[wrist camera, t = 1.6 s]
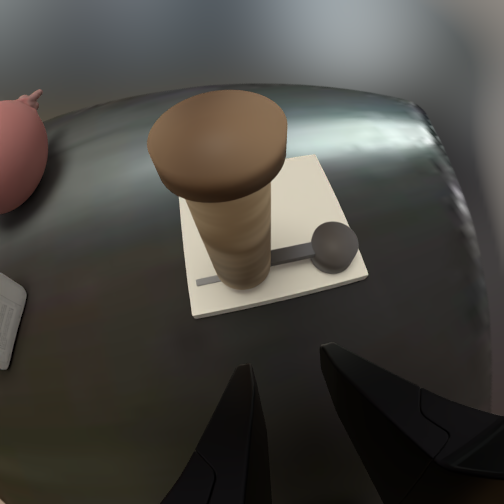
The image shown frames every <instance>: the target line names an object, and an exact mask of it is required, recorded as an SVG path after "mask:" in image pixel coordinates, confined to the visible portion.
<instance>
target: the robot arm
mask: <svg viewBox="0 0 504 504" xmlns="http://www.w3.org/2000/svg"><path fill="white" fill-rule="evenodd" d="M320 361H321V369H322V373H323V375H324V378H325V381H326V384H327V387H328V389H329V392H330V395H331V398H332V401H333V404H334V406H335V409H336V411H337V414H338V416H339V418H340V420H341V422H342V424H343V425H344V427H345V429H346V431H347V433H348V435H349V437H350V439H351V441H352V443H353V445H354V447H355V449H356V451H357V453H358V455H359V456H360V458H361V460H362V462H363V464H364V466H365V468H366V470H367V472H368V474H369V476H370V478H371V480H372V482H373V484H374V486H375V487H376V489H377V491H378V493H379V495H380V497H381V499H382V501H383V503H384V504H504V416H500V415H495V414H492V413H488V412H485V411H481V410H478V409H475V408H472V407H468V406H465V405H462V404H459V403H456V402H454V401H451V400H448V399H446V398H443V397H441V396H439V395H436V394H434V393H432V392H430V391H428V390H426V389H424V388H421V389H420V387H419V386H417V385H415V384H413V383H411V382H409V381H407V380H405V379H403V378H401V377H399V376H397V375H395V374H393V373H391V372H389V371H387V370H385V369H383V368H381V367H379V366H378V365H376V364H374V363H372V362H370V361H368V360H366V359H364V358H362V357H360V356H358V355H357V354H355V353H353V352H351V351H349V350H347V349H345V348H343V347H342V346H340V345H338V344H336V343H334V342H331V343H327V344H324V345H321V346H320ZM195 450H196V451H194V452H193V454H192V456H191V458H190V460H189V462H188V464H187V465H186V467H185V469H184V471H183V472H182V474H181V476H180V477H179V479H178V480H177V481H176V483H175V484H174V486H173V487H172V489H171V490H170V491H169V493H168V494H167V495H166V497H165V498H164V499H163V500H162V502H161V503H160V504H272V499H271V485H270V470H269V456H268V442H267V431H266V425H265V420H264V415H263V411H262V406H261V401H260V397H259V392H258V387H257V383H256V379H255V376H254V372H253V368H252V365H251V364H250V363H246V364H241V365H238V366H237V367H236V369H235V371H234V373H233V375H232V377H231V379H230V381H229V383H228V385H227V387H226V389H225V391H224V393H223V396H222V398H221V400H220V402H219V404H218V406H217V408H216V410H215V412H214V414H213V416H212V418H211V420H210V422H209V424H208V426H207V427H206V429H205V431H204V433H203V435H202V437H201V439H200V441H199V443H198V445H197V447H196V449H195Z"/></svg>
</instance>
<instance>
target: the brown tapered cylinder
mask: <svg viewBox="0 0 504 504" xmlns="http://www.w3.org/2000/svg"><path fill="white" fill-rule="evenodd" d="M286 144H287V119H286V116H285V114H284V112H283V111H282V109H281V108H280V107H279V106H278V105H277V104H276V103H274V102H273V101H272V100H270V99H268V98H266V97H264V96H262V95H259V94H256V93H252V92H248V91H241V90H220V91H212V92H207V93H203V94H199V95H196V96H193V97H191V98H188V99H186V100H184V101H182V102H180V103H178V104H176V105H174V106H173V107H171V108H170V109H169V110H167V111H166V112H165V113H164V114H163V115H161V117H160V118H159V119H158V120H157V121H156V122H155V124H154V125H153V127H152V128H151V130H150V133H149V135H148V140H147V147H148V152H149V154H150V156H151V159H152V161H153V163H154V165H155V168H156V170H157V172H158V174H159V176H160V178H161V181H162V182H163V184H164V185H165V186H166V188H168V189H169V190H170V191H171V192H172V193H174V194H175V195H177V196H179V197H181V198H184V199H185V200H186V203H187V205H188V208H189V210H190V212H191V215H192V217H193V220H194V222H195V224H196V227H197V229H198V232H199V234H200V236H201V239H202V241H203V243H204V246H205V248H206V250H207V253H208V255H209V257H210V260H211V262H212V264H213V266H214V269H215V271H216V273H217V276H218V277H219V279H220V280H221V281H222V282H223V283H224V284H225V285H226V286H228V287H230V288H233V289H237V290H247V289H251V288H254V287H256V286H258V285H259V284H261V283H262V282H263V281H264V280H265V278H266V277H267V275H268V273H269V271H270V267H271V266H276V265H281V264H286V263H290V262H295V261H300V260H304V259H309V258H310V259H311V261H312V263H313V264H314V266H315V267H316V268H318V269H319V270H321V271H323V272H325V273H329V274H337V273H340V272H343V271H344V270H346V269H347V268H348V267H349V265H350V264H351V262H352V260H353V259H354V257H355V255H356V254H357V251H358V246H359V245H358V239H357V236H356V235H355V233H354V232H353V230H352V229H351V228H349V227H348V226H347V225H345V224H343V223H340V222H334V221H331V222H325V223H323V224H321V225H319V226H318V227H317V228H316V229H315V231H314V233H313V235H312V239H311V242H309V243H304V244H299V245H294V246H289V247H284V248H279V249H274V250H271V181H272V180H273V179H274V178H275V177H276V176H277V175H278V173H279V172H280V170H281V169H282V167H283V165H284V162H285V158H286Z"/></svg>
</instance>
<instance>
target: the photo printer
mask: <svg viewBox="0 0 504 504" xmlns="http://www.w3.org/2000/svg"><path fill="white" fill-rule="evenodd" d="M26 296H27V294H26V291H25V289H24V288H23V287H22V286H21V285H19V284H18V283H16V282H15V281H13V280H11V279H10V278H8V277H7V276H5V275H4V274H2V273H1V272H0V369H1V370H4V369H5V370H6V369H7V368H8V366H9V363H10V359H11V354H12V350H13V346H14V342H15V338H16V334H17V330H18V326H19V322H20V319H21V316H22V312H23V309H24V305H25V301H26Z"/></svg>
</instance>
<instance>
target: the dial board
mask: <svg viewBox="0 0 504 504" xmlns="http://www.w3.org/2000/svg"><path fill="white" fill-rule="evenodd" d="M179 202H180V214H181V226H182V236H183V246H184V255H185V264H186V272H187V280H188V288H189V295H190V302H191V309H192V316H193V317H194V318H195V319H198V318H203V317H209V316H214V315H219V314H224V313H228V312H233V311H238V310H243V309H247V308H252V307H256V306H261V305H265V304H270V303H274V302H278V301H283V300H287V299H291V298H295V297H299V296H303V295H307V294H311V293H315V292H319V291H323V290H327V289H331V288H335V287H338V286H342V285H346V284H350V283H353V282H357V281H360V280H364V279H365V278H366V277H367V276H368V272H367V269H366V267H365V264H364V262H363V259H362V256H361V254H360V251H359V249H358V251H357V254H356V255H355V257H354V259H353V260H352V262H351V264H350V265H349V267H348V268H347V269H346V270H344V271H343V272H340V273H337V274H329V273H325V272H323V271H321V270H319V269H318V268H316V267H315V266H314V264H313V263H312V261H311V259H310V258H309V259H304V260H300V261H295V262H290V263H286V264H281V265H276V266H271V267H270V271H269V273H268V275H267V277H266V278H265V280H264V281H263V282H262V283H261V284H259V285H258V286H256V287H254V288H251V289H247V290H237V289H233V288H230V287H228V286H226V285H225V284H224V283H223V282H222V281H221V280H220V279H219V277H218V276H217V273H216V271H215V269H214V266H213V264H212V262H211V260H210V257H209V255H208V253H207V250H206V248H205V246H204V243H203V241H202V239H201V236H200V234H199V232H198V229H197V227H196V224H195V222H194V220H193V217H192V215H191V212H190V210H189V208H188V205H187V203H186V200H185V199H184V198H181V197H179ZM331 221H334V222H340V223H343V224H345V225H347V226H348V227H349V225H348V223H347V220H346V218H345V216H344V214H343V211H342V209H341V207H340V205H339V203H338V200H337V198H336V196H335V194H334V192H333V190H332V188H331V185H330V183H329V181H328V179H327V177H326V175H325V173H324V171H323V169H322V167H321V165H320V163H319V161H318V159H317V157H316V155H307V156H300V157H294V158H287V159H285V162H284V165H283V167H282V169H281V170H280V172H279V173H278V175H277V176H276V177H275V178H274V179H273V180H272V181H271V250H274V249H279V248H284V247H289V246H294V245H299V244H304V243H309V242H311V239H312V235H313V233H314V231H315V229H316V228H317V227H318V226H319V225H321V224H323V223H325V222H331ZM349 228H350V227H349Z"/></svg>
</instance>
